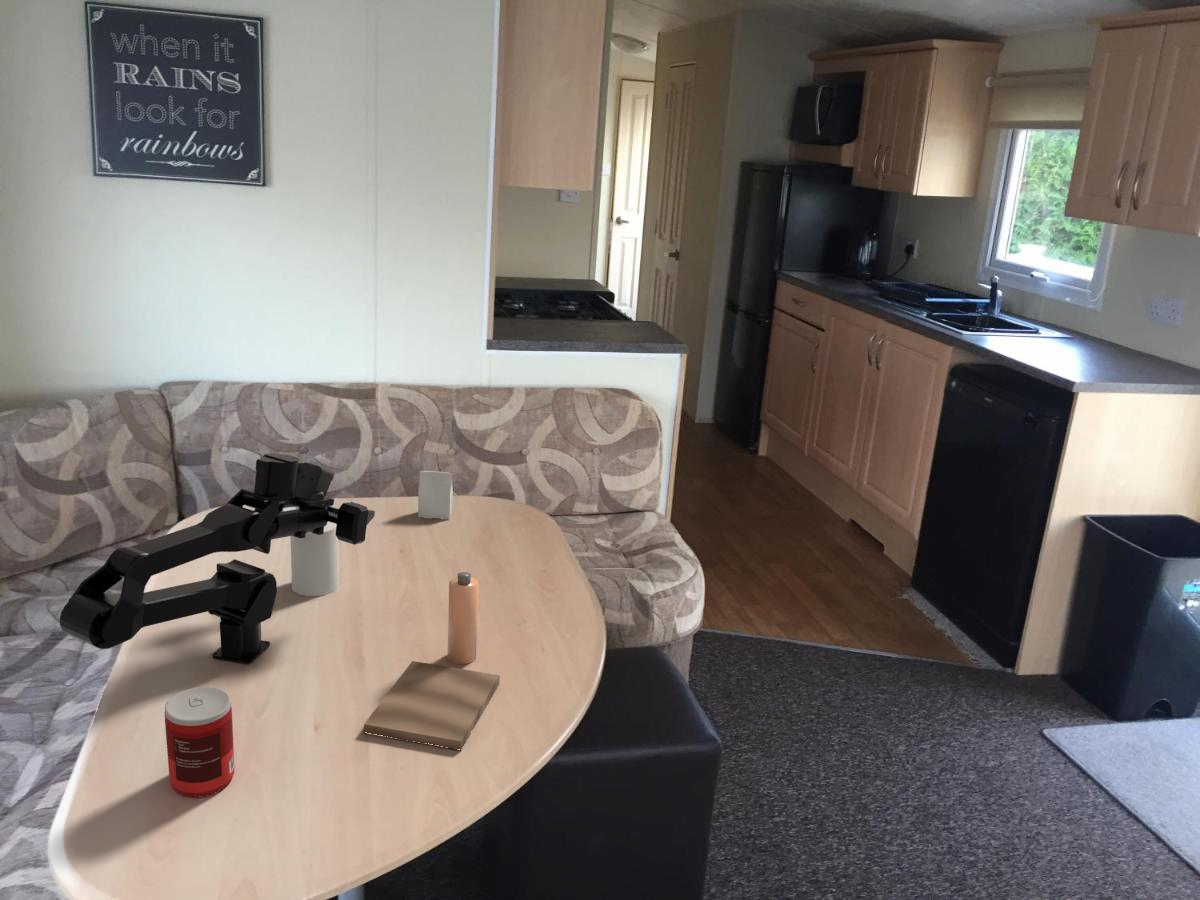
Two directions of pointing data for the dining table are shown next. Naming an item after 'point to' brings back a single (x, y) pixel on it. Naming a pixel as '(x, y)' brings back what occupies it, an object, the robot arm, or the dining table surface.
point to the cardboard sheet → (433, 705)
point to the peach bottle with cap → (463, 619)
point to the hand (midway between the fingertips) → (353, 507)
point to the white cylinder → (315, 562)
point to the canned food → (199, 741)
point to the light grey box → (435, 494)
